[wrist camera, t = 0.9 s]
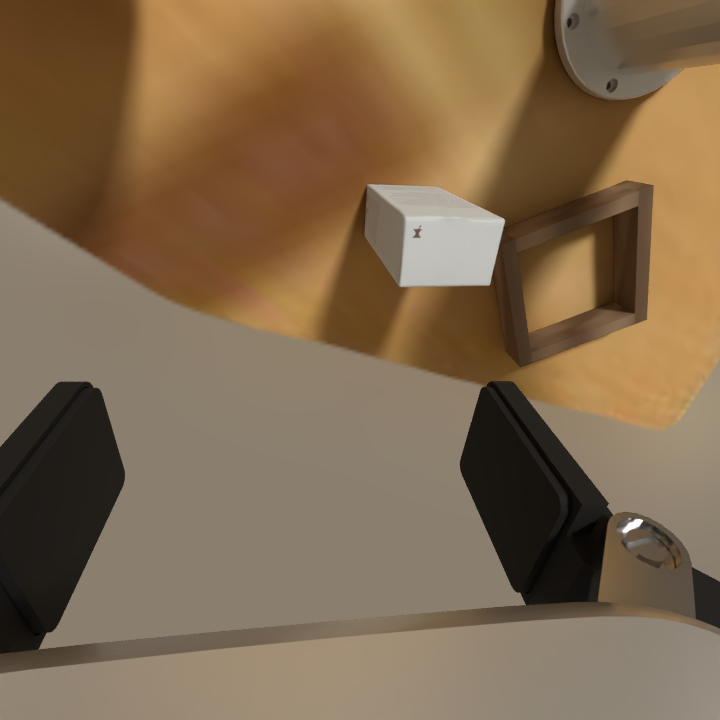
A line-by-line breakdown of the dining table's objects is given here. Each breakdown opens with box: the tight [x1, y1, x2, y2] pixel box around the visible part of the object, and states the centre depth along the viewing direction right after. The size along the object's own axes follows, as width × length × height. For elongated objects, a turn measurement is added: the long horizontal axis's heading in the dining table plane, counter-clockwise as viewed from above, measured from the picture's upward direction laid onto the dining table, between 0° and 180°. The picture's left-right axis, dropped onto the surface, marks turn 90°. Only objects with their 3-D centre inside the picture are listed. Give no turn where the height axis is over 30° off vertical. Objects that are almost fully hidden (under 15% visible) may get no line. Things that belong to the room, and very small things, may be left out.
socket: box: [493, 181, 653, 367], centre depth 38 cm, size 13×13×3 cm
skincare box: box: [364, 184, 505, 287], centre depth 29 cm, size 6×4×12 cm
